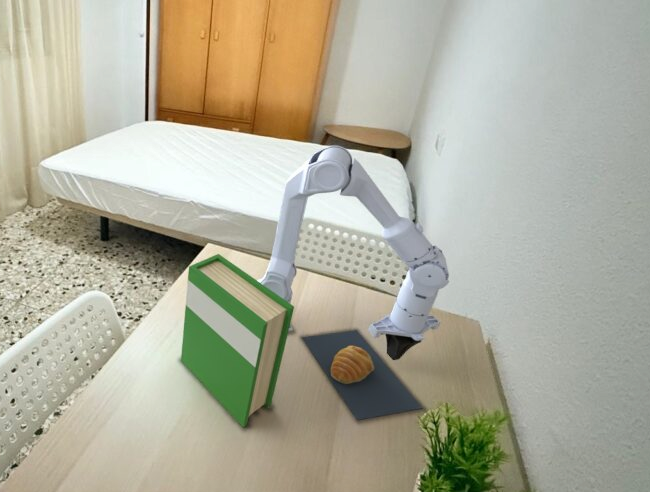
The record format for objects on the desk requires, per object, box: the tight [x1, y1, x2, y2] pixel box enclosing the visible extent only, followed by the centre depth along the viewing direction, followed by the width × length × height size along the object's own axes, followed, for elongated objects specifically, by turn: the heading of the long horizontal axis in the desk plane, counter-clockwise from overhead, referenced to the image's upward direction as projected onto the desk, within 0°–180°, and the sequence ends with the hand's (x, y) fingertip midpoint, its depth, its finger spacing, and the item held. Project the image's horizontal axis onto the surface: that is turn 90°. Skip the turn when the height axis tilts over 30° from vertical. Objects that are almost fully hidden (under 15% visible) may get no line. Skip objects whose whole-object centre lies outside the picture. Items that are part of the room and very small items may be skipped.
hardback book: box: [180, 253, 295, 428], centre depth 74 cm, size 18×7×24 cm, turn 36°
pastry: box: [331, 346, 374, 384], centre depth 82 cm, size 9×7×4 cm
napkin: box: [301, 329, 423, 421], centre depth 83 cm, size 20×14×1 cm
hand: (392, 356), depth 84 cm, fingers closed
